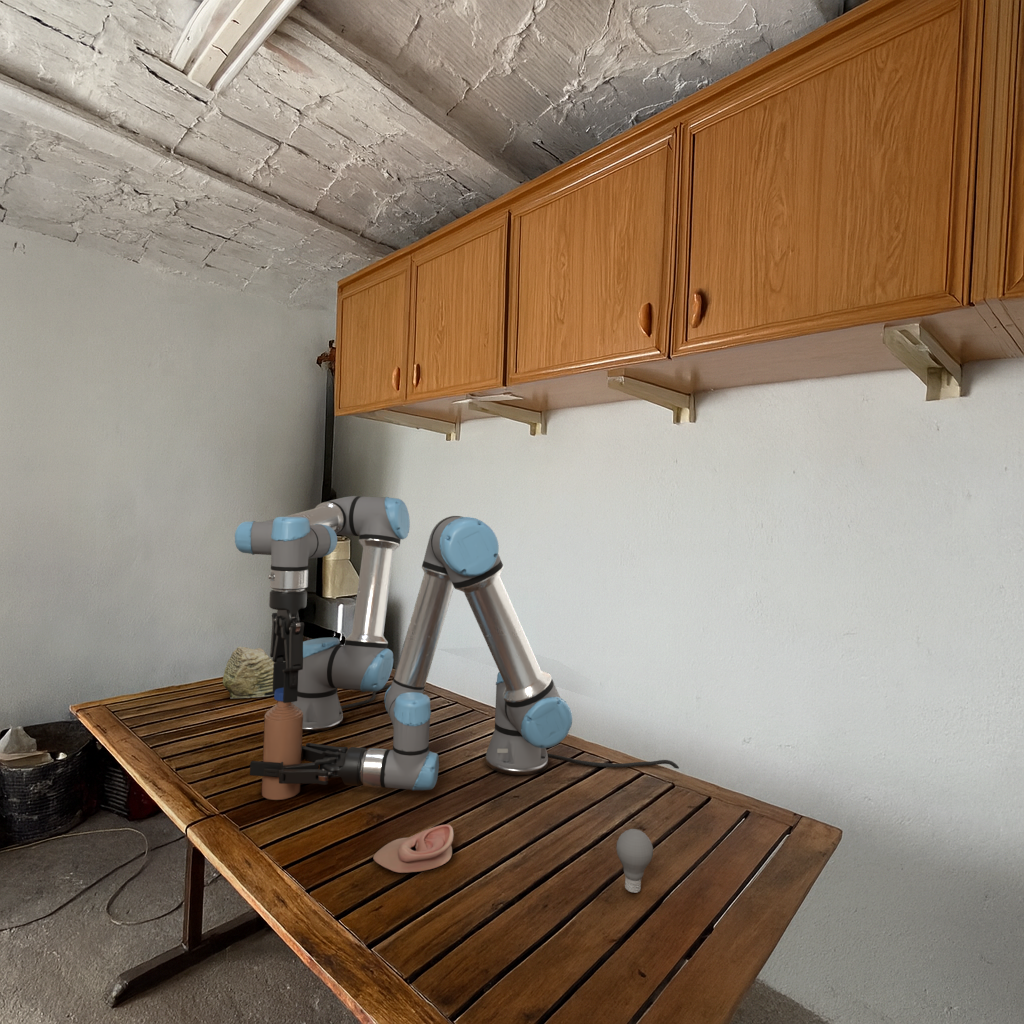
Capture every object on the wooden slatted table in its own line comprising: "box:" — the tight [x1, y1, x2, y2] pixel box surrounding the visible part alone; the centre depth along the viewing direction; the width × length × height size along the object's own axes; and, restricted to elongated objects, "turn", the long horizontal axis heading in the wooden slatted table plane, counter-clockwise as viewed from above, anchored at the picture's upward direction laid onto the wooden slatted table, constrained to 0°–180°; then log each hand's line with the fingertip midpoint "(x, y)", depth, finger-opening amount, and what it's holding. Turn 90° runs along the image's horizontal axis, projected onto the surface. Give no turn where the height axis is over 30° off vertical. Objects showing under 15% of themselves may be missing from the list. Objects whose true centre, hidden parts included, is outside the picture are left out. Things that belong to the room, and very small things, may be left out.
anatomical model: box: [372, 824, 455, 874], centre depth 113 cm, size 13×4×12 cm
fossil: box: [222, 646, 275, 699], centre depth 198 cm, size 9×18×15 cm, turn 132°
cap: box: [273, 688, 284, 701], centre depth 135 cm, size 4×4×2 cm
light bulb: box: [615, 828, 654, 894], centre depth 106 cm, size 6×6×10 cm
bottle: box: [261, 700, 304, 801], centre depth 135 cm, size 8×8×21 cm
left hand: (284, 696), depth 135 cm, fingers open, 6 cm apart
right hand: (260, 759), depth 136 cm, fingers closed on bottle, 8 cm apart
